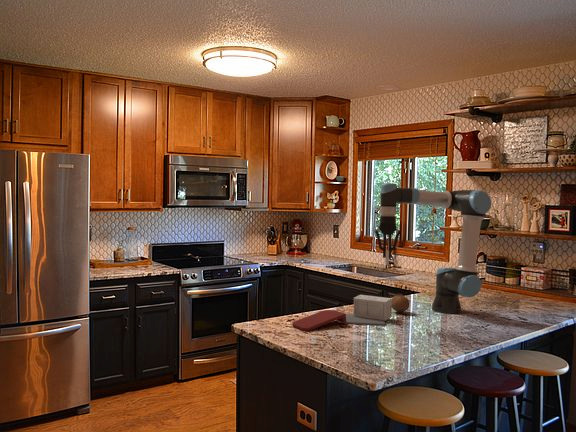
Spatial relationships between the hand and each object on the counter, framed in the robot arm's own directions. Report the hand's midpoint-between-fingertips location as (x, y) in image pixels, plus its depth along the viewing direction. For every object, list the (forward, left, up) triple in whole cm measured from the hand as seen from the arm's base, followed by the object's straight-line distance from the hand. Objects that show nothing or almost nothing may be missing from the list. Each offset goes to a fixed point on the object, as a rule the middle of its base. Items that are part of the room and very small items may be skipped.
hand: (386, 264), depth 250 cm
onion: (-20, +10, -28) cm, 36 cm away
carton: (+13, -31, -27) cm, 43 cm away
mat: (0, -10, -28) cm, 29 cm away
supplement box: (-1, +2, -22) cm, 22 cm away
